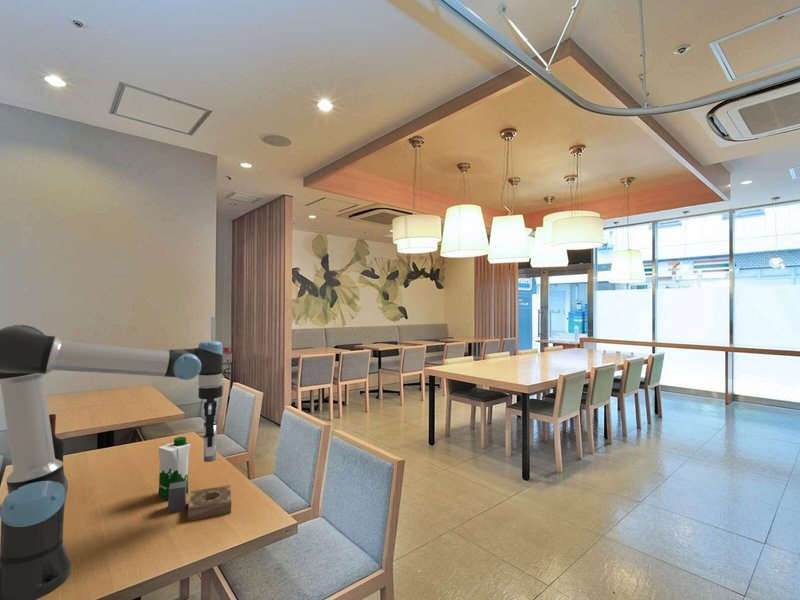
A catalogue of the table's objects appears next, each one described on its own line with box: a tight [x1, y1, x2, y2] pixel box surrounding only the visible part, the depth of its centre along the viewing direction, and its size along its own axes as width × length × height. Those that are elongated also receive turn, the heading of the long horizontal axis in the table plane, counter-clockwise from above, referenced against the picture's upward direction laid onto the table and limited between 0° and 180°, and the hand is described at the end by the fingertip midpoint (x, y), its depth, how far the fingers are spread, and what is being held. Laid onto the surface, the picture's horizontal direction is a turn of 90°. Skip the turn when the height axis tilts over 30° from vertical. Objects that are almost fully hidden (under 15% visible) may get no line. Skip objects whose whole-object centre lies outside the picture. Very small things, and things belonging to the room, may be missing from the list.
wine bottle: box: [49, 413, 65, 463], centre depth 141 cm, size 8×8×30 cm
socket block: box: [187, 484, 232, 522], centre depth 137 cm, size 13×13×4 cm
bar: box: [167, 481, 187, 514], centre depth 136 cm, size 5×5×8 cm
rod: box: [203, 420, 218, 463], centre depth 136 cm, size 4×4×13 cm
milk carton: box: [157, 436, 192, 500], centre depth 146 cm, size 9×9×20 cm
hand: (209, 453), depth 136 cm, fingers closed on rod, 4 cm apart
